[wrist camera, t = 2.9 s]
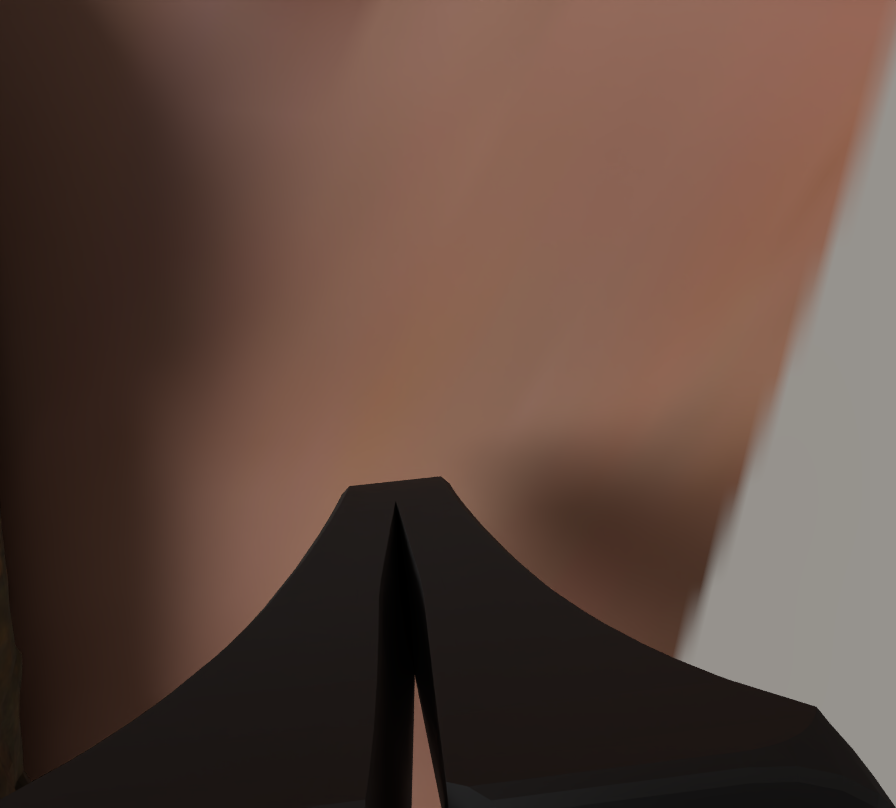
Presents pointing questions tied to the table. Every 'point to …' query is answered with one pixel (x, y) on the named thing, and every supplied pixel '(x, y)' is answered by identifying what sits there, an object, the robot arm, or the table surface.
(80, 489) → the table surface
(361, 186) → the table surface
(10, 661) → the brown rough log
